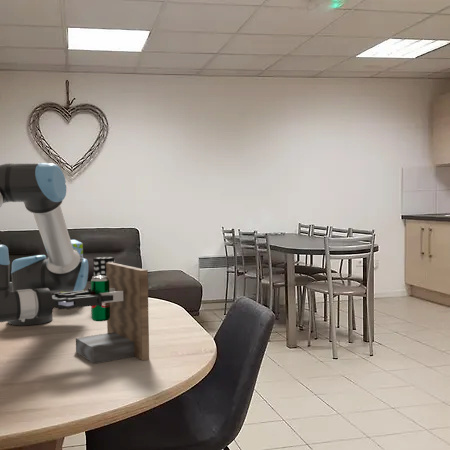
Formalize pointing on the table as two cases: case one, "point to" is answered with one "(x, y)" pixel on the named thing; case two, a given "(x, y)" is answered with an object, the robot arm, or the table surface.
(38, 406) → the table surface
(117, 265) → the wall board
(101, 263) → the spotted tube
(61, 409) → the table surface
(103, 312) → the soda can
